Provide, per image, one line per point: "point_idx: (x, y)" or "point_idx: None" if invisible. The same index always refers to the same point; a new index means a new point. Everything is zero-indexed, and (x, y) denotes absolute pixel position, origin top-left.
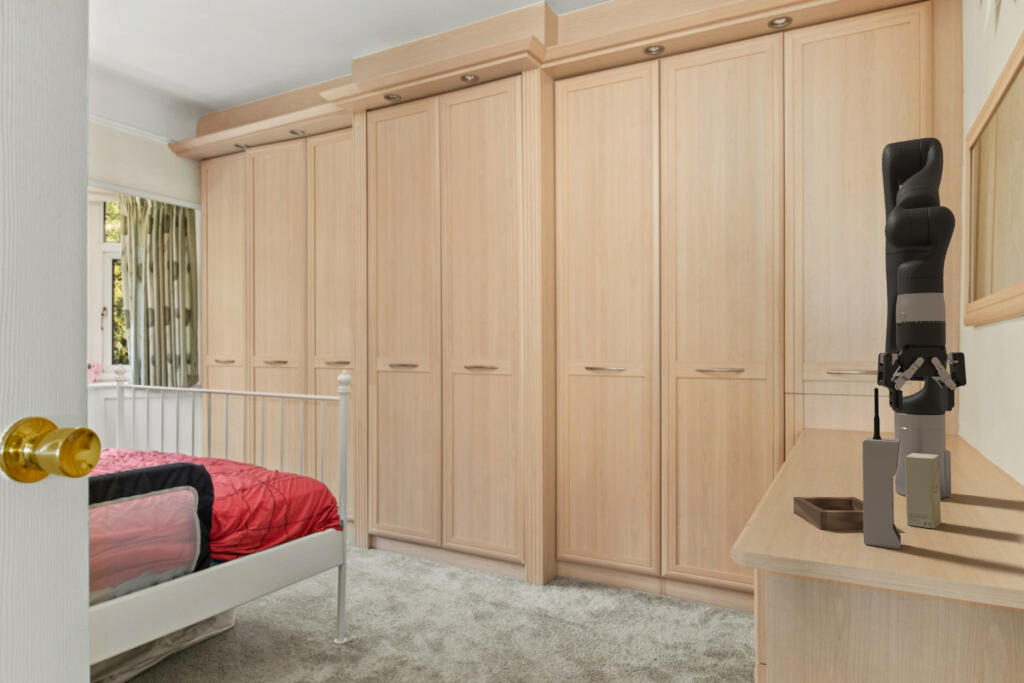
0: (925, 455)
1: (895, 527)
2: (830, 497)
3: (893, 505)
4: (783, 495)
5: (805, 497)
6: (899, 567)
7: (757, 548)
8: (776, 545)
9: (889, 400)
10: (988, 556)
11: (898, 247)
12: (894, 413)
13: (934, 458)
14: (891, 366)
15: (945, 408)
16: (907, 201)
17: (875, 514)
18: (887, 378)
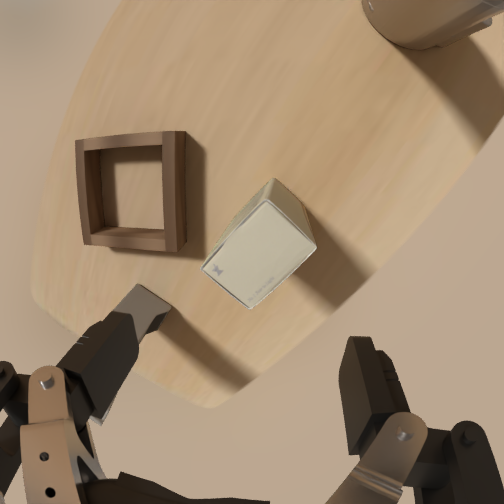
0: (268, 256)
1: (159, 314)
2: (128, 138)
3: (145, 330)
4: (127, 13)
5: (90, 142)
6: (139, 363)
7: (39, 295)
8: (52, 289)
9: (80, 340)
10: (250, 354)
11: None
12: None
13: (261, 300)
14: (5, 487)
15: (342, 370)
16: None
17: None
18: (18, 436)
